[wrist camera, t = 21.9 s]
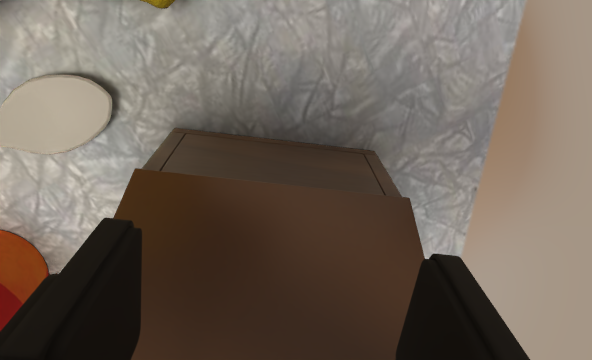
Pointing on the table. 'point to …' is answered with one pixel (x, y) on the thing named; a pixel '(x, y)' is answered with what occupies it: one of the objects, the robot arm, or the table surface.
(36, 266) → the coffee cup
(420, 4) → the table surface
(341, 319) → the lid
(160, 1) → the lemon
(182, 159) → the chest
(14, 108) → the spoon
